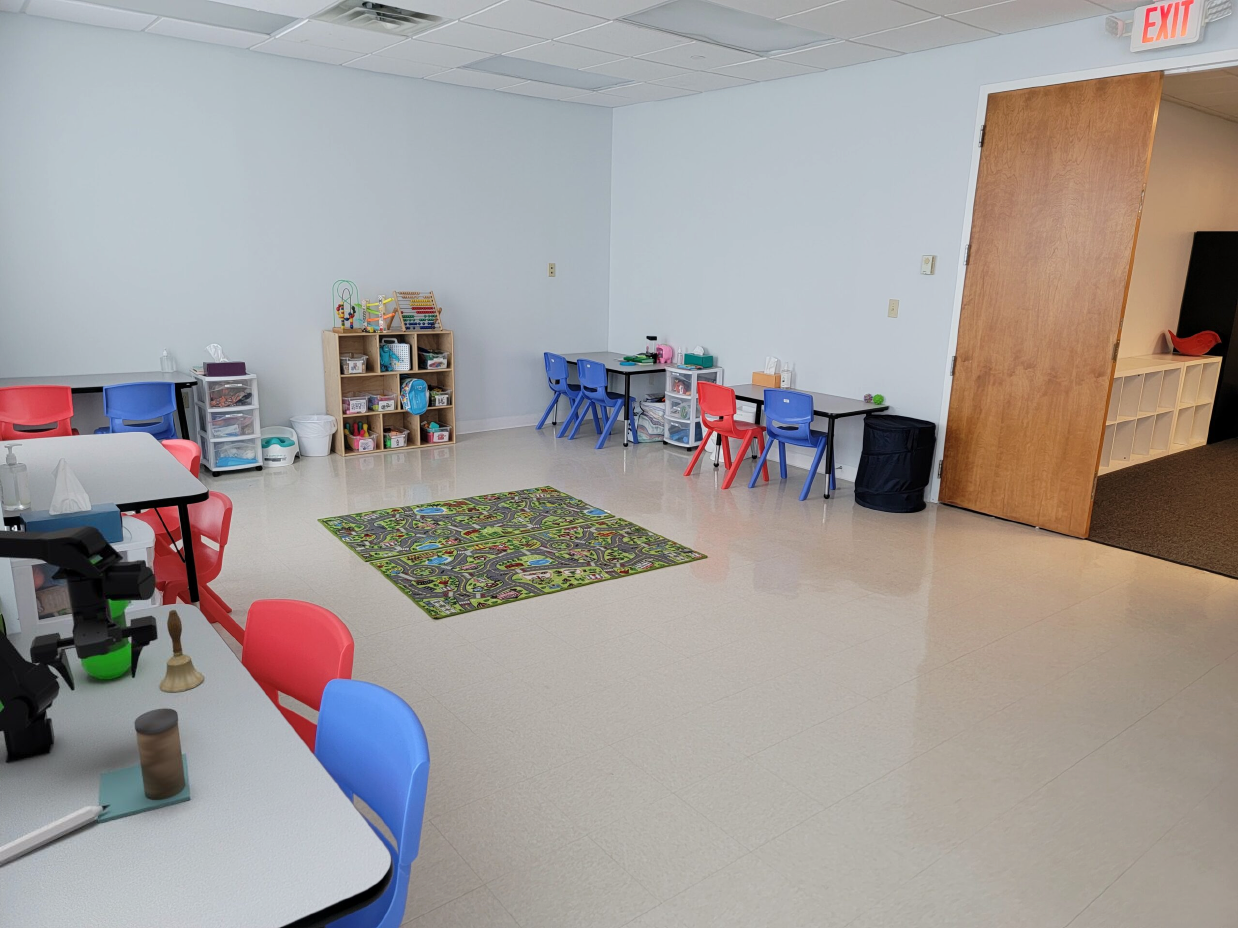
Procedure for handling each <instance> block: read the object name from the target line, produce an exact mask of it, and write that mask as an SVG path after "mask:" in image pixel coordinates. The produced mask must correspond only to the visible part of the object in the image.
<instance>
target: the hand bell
mask: <svg viewBox="0 0 1238 928" xmlns="http://www.w3.org/2000/svg"><path fill="white" fill-rule="evenodd" d="M166 624H167V632H168V635H169V637H170V638H171V641H172V642H171V644H172V652H173V653H172V655H173V656H171V657H170V658H169V659H167V662H166V672H165V676H164V678H163V679H162V680H161V681H160V683H159V689H160V691H163V692H165V693H181V692H185V691H188V690H192V689H194V688H196V687H199V685H201V684H202V683H203V682H204V679H205V676H204V675H203V674H202V673H201V672H200V671H197V669H196V668H195V667H194V664H193V660H192V657H191V656H190V655H188V654H184V652H183V647H182V640H181V636H182V631H183V630H182V629H183V627H182V626H183V624H182V620H181V618H180V616H179V615H178V612H177V610H176V609H173V610H172V609H171V610H170V611H169V612H168V617H167V622H166Z"/></svg>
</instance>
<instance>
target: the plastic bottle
mask: <svg viewBox="0 0 1238 928" xmlns="http://www.w3.org/2000/svg"><path fill="white" fill-rule="evenodd" d="M101 559H102V558H95V559H94V560H92V561H91V562H92V563H93V564H94V563H96V562H97V561H99V560H101ZM109 602H110V608H111V614H112V620H113V623H114V622H120V625H121V628H122V627H127V620H126V612H125V610H126V609H127V607H128V606H129V605H130V601H112V600H110V599H109ZM80 662H81V667H82V668H83V669H84V671H86V672H87V673H88V675H90V676H92V677H94V678H97V679H98V680H103V679H108V680H111V679H112V678H113V679H117V678H119V677H120V676H123V675H124V674H125V673H126V671H127V670H128V669H129V668H131V641H129V637H128V638H123V639H122V642H119V643H116V645H112V646H111V651H110V652H109V653H108V654H106V655H97V656H92V657H88V658H87V659H80Z"/></svg>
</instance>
